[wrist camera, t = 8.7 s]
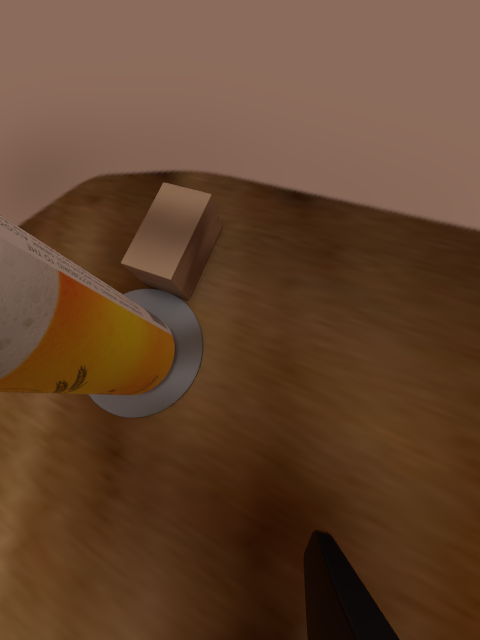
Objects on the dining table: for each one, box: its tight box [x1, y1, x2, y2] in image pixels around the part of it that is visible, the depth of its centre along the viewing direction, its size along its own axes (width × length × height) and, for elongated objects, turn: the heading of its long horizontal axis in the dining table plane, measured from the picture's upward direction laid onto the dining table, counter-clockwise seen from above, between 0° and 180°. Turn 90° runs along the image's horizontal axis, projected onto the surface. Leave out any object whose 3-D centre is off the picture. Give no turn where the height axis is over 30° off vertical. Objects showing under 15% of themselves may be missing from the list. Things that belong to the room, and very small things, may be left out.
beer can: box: [0, 215, 175, 395], centre depth 14 cm, size 6×6×15 cm
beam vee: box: [89, 183, 222, 418], centre depth 20 cm, size 15×20×4 cm
